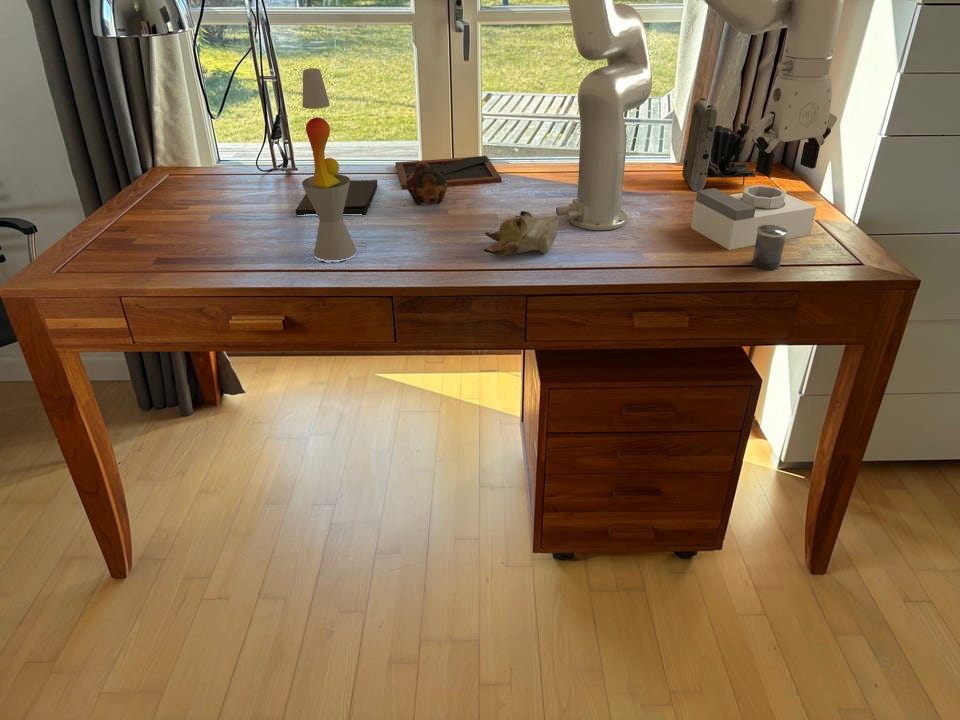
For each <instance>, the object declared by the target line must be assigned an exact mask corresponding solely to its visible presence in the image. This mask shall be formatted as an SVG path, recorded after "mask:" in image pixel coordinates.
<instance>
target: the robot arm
mask: <svg viewBox="0 0 960 720" xmlns="http://www.w3.org/2000/svg"><path fill="white" fill-rule="evenodd" d="M567 1H568V2H567V3H568V8H569V13H570V14H569V15H570V18H571V19H570V21H571V25H572V32H573V35H574V36H573V37H574V41H575V45H576V49H577V51H578V54H579V55H580V56H581V57H582V58H584V60H587V61H592V62H593V61H600V60H601V61H602V60H606V62H607V65H605V66H602V67H598V68H596V69H594V70H593V71H591V72H589V73H588V74H587V75H585V77H584V78H583V79H582V80H581V83H580V85H579V88H578V92H577V107H578V113H579V124H580V125H579V126H580V129H579V130H580V131H579V132H580V136H579V137H580V138H579V156H578V157H579V158H578V159H579V160H578V177H577V179H578V180H577V194H576V195H577V196H576V197H577V198H573V199H572V202H571V203H570V204H568V205H563V206H556V208H555V215H556V217H562V216H566V217H567V219H568V220H569V222H570V223H571V224H572V225H573V226H575V227H577V228H581V229H585V230H593V231H609V230H615V229H619V228H622V227H623V226H625V225H626V224H627V223H628V215H627V213H626V212H625V211H623V210H622V203H623V202H622V200H623V199H622V198H623V190H624V189H623V187H624V179H625V178H624V177H625V168H626V167H625V165H626V164H625V163H626V155H627V154H626V153H627V143H628V142H627V140H628V139H627V138H628V137H627V136H628V135H627V133H628V132H627V127H626V123H625V118H624V113H625V112H629V111H631V110H633V109H636V108H638V107H640V106H642V105H643V104H644V103H646V101H647V100H648V98H649V97H650V95H651V92H652V89H653V73H652V67H651V66H652V65H651V62H650V61H651V59H650V53H649V47H648V39H647V35H646V34H647V33H646V27H645V24H644V22H643V21H644V20H643V19H642V17H641V15H640V13H639V12H638V11H637V10H636V9H635V8H634V7H632V5H629V4H626V3H616V1H615V0H567ZM703 1H704V3H705V4H706V5H707V6H708V7H709V8H710V9H711V10H712V11H713V12H714V13H715V14H716V15H718V16H719V17H720V18H721V19H722V20H723V21H724V22H726V23H727V24H728V25H729V26H731V28H733V29H735V31H738V32H739V33H742V34H744V35H748V36H749V35H750V36H752V35H753V36H755V35H760V34H763V33H766V32H771V31H776V30H779V29H786V28H787V32H786V38H785V43H784V48H783V54H782V59H781V61H780V62H778V64H777V71H779V75H777V76H776V78H775V81H774V84H773V86H772V90H771V92H770V93H771V94H770V95H769V99H768V104H767V107H766V108H767V109H766V112H765V116H764V117H762V118H760V119H759V120H758V121H756V122H755V123H753V124H752V125H751V126H750V127H749V131H750V135H751V137H752V139H751V140H752V142H753V144H754V145H755V149H756V150H758V153H757V159H756V165H755V172H757V173H758V174H761V175H763V176H765V177H768V176H770V175H771V174H772V168H773V162H774V156H775V153H774V152H772V151H773V150H774V148H775V147H776V146H777V145H778V143H780V141H781V142H785V143H786V142H787V143H788V142H793V141H800V140H807V141H805V142H804V144H803V147H802V152H801V157H800V162H799V163H800V165H801V166H803V167H806V168H808V169H811V170H813V169H816V168H817V167H816V166H817V162H818V158H819V154H820V153H819V152H820V148H821V146H823V145H824V144H825V140H826V139H827V138H828V136H829V135H830V134H831V133H832V130H831V129H833V127H834V126H835V124H836V122H837V120H838V117H837V116H836V115H834V114H833V113H831V104H832V98H833V97H832V95H833V77H832V75H831V74H830V70H831V65H832V61H833V54H834V51H835V45H836V42H837V38H838V33H839V27H840V23H841V19H842V14H843V13H842V12H843V8H844V3H845V0H703Z"/></svg>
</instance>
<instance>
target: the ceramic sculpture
mask: <svg viewBox="0 0 960 720" xmlns="http://www.w3.org/2000/svg"><path fill="white" fill-rule="evenodd" d="M559 222H560V216H555V217H554V216H553V217H548V218H545V219H537V218H536V216H535V215H534V213H533V214H532V213H530V211H525V210H521V211H520V213H519V215H515V216H514V215H511V216H508V217H507V218H505V219H504V220H502V222H501V223H500V225H499V229H498V230H497V231H496V232H490V231H485V232H484V235H485V236H487V237H488V238H490V239H491V240H494V241H496V242H494V243H493V244H492V245H490V246H489V247H487V248H483V252H484V253H487V254H490V255H495V256H501V257H502V256H503V257H504V256H508V255H510V254H521V253H526V252H527V253H528V252H531V251H540V252H541V253H542V254H548V253H549V252H550V250H551V249H552V247H553V244H554V242H555V240H556V238H557V236H558V230H559V229H558V228H559Z"/></svg>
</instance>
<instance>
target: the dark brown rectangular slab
mask: <svg viewBox="0 0 960 720" xmlns="http://www.w3.org/2000/svg"><path fill="white" fill-rule="evenodd" d="M377 189H378V180H377V179H373V180H372V179H365V180H363V179H361V180H359V179H358V180H355V179H354V180H351V179H350V184H349V189H348V193H347V197H346V202H345V206H344V211H343V214H362V215H366V216H367V214H366V213H368V211H369V209H368V208H370V206H371V204H372V202H373V199H374V196H375V193H376V192H377ZM370 203H371V204H370ZM304 214H305V215H306V214H317V213H316V211H315V209H314V207H313V205H312V203H311V201H310V200H309V198H308V196H307V194H306V193H305V195H304V196H303V198H302V199H301V201H300V202H299V204H298V206H297V207H296V209H295V215H304Z"/></svg>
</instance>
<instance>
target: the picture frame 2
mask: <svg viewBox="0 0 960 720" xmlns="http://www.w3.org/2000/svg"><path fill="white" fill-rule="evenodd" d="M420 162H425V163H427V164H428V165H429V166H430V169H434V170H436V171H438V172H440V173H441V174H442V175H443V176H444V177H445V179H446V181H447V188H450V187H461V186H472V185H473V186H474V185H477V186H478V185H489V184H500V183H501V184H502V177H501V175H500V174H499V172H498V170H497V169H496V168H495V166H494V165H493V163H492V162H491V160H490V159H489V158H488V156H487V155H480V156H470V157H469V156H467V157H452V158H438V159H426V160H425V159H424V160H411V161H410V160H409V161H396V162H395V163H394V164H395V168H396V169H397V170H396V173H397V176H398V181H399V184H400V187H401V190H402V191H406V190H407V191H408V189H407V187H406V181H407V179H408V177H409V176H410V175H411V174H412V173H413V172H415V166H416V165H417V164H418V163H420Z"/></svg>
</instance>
